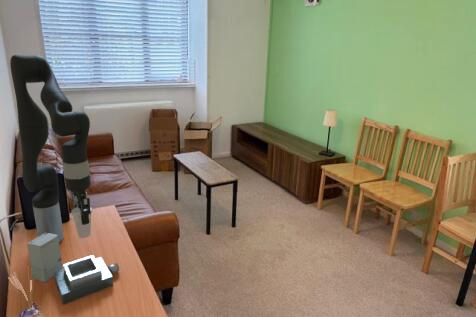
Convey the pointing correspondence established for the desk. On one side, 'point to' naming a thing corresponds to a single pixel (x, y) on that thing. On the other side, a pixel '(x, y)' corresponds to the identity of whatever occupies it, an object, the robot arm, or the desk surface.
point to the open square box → (83, 278)
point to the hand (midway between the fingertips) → (82, 219)
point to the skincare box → (45, 256)
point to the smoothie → (82, 229)
